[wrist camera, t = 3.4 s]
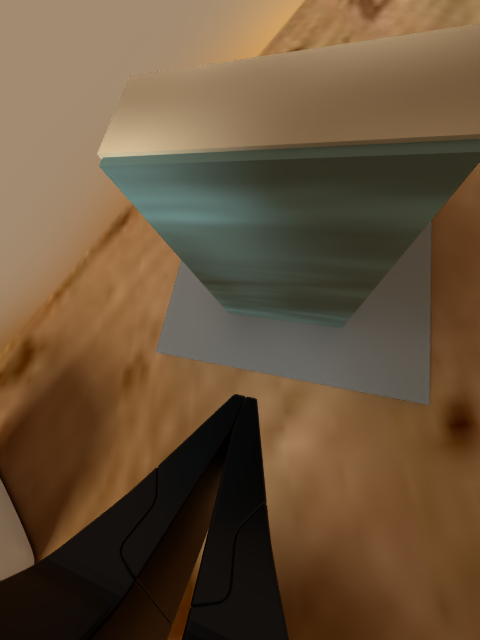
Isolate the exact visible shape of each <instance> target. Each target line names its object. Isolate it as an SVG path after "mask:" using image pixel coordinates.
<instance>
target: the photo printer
mask: <svg viewBox="0 0 480 640" xmlns="http://www.w3.org/2000/svg"><path fill="white" fill-rule="evenodd" d="M32 565H34V556H33V552H32V549H31V546H30V544H29V541H28V539H27V536H26V534H25V531H24V529H23V527H22V524H21V522H20V520H19V517H18V515H17V513H16V511H15V509H14V506H13V504H12V502H11V500H10V498H9V496H8V494H7V492H6V489H5V487H4V485H3V483H2V481H1V479H0V581H1V580H3V579H6V578H8V577H10V576H12V575H14V574H16V573H18V572H20V571H22V570H25V569H27V568H28V567H30V566H32Z"/></svg>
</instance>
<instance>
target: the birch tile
mask: <svg viewBox="0 0 480 640" xmlns="http://www.w3.org/2000/svg"><path fill="white" fill-rule="evenodd" d="M97 155H98V156H99V157H100V158H101V160H102V161H101V163H100V168H101V169H102V170H103V171H104V172H105V173H106V174H107V176H108V177H109V178H110V179H111V180H112V181H113V182H114V184H115V185H116V186H117V187H118V188H119V189H120V190H121V192H122V193H123V194H124V195H125V196H126V197H127V198H128V199H129V201H130V202H131V203H132V204H133V205H134V206H135V207H136V209H137V210H138V211H139V212H140V213H141V214H142V215H143V217H144V218H145V219H146V220H147V221H148V222H149V223H150V225H151V226H152V227H153V228H154V229H155V230H156V231H157V233H158V234H159V235H160V236H161V237H162V238H163V239H164V241H165V242H166V243H167V244H168V245H169V246H170V247H171V249H172V250H173V251H174V252H175V253H176V254H177V255H178V256H179V258H180V259H181V260H182V261H183V262H184V263H185V264H186V266H187V267H188V268H189V269H190V270H191V271H192V272H193V274H194V275H195V276H196V277H197V278H198V279H199V280H200V282H201V283H202V284H203V285H204V286H205V287H206V288H207V290H208V291H209V292H210V293H211V294H212V295H213V296H214V298H215V299H216V300H217V301H218V302H219V303H220V304H221V305H222V307H223V308H224V309H225V310H226V311H227V312H228V313H232V314H240V315H247V316H255V317H262V318H269V319H277V320H284V321H292V322H299V323H307V324H314V325H322V326H329V327H337V328H343V326H344V325H345V324H346V323H347V321H348V320H349V319H350V318H351V317H352V315H353V314H354V313H355V312H356V311H357V309H358V308H359V307H360V306H361V305H362V303H363V302H364V301H365V300H366V299H367V297H368V296H369V295H370V294H371V292H372V291H373V290H374V289H375V288H376V286H377V285H378V284H379V283H380V282H381V280H382V279H383V278H384V277H385V276H386V274H387V273H388V272H389V271H390V270H391V268H392V267H393V266H394V265H395V264H396V262H397V261H398V260H399V259H400V257H401V256H402V255H403V254H404V253H405V251H406V250H407V249H408V248H409V247H410V245H411V244H412V243H413V242H414V241H415V239H416V238H417V237H418V236H419V235H420V233H421V232H422V231H423V230H424V228H425V227H426V226H427V225H428V224H429V222H430V221H431V220H432V219H433V218H434V216H435V215H436V214H437V213H438V212H439V210H440V209H441V208H442V207H443V206H444V204H445V203H446V202H447V201H448V199H449V198H450V197H451V196H452V195H453V193H454V192H455V191H456V190H457V189H458V187H459V186H460V185H461V184H462V183H463V181H464V180H465V179H466V178H467V177H468V175H469V174H470V173H471V172H472V171H473V169H474V168H475V167H476V166H477V164H478V163H479V162H480V24H473V25H467V26H460V27H453V28H447V29H440V30H433V31H427V32H420V33H413V34H407V35H400V36H393V37H387V38H380V39H373V40H367V41H360V42H354V43H347V44H340V45H334V46H327V47H320V48H314V49H307V50H300V51H294V52H287V53H280V54H274V55H267V56H260V57H254V58H247V59H240V60H234V61H228V62H221V63H214V64H208V65H201V66H194V67H187V68H181V69H174V70H167V71H161V72H154V73H147V74H141V75H134V76H129V79H128V81H127V83H126V86H125V88H124V91H123V93H122V96H121V98H120V100H119V103H118V105H117V108H116V110H115V112H114V115H113V117H112V120H111V122H110V124H109V127H108V129H107V132H106V134H105V136H104V139H103V141H102V144H101V146H100V149H99V151H98V153H97Z"/></svg>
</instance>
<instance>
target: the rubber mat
mask: <svg viewBox="0 0 480 640" xmlns="http://www.w3.org/2000/svg"><path fill="white" fill-rule="evenodd" d="M431 236H432V220H431V221H430V222H429V224H428V225H427V226H426V227H425V228H424V230H423V231H422V232H421V233H420V235H419V236H418V237H417V238H416V239H415V241H414V242H413V243H412V244H411V245H410V247H409V248H408V249H407V250H406V251H405V253H404V254H403V255H402V256H401V257H400V259H399V260H398V261H397V262H396V264H395V265H394V266H393V267H392V268H391V270H390V271H389V272H388V273H387V274H386V276H385V277H384V278H383V279H382V280H381V282H380V283H379V284H378V285H377V286H376V288H375V289H374V290H373V291H372V292H371V294H370V295H369V296H368V297H367V299H366V300H365V301H364V302H363V303H362V305H361V306H360V307H359V308H358V309H357V311H356V312H355V313H354V314H353V315H352V317H351V318H350V319H349V320H348V321H347V323H346V324H345V325H344V326H343V328H337V327H329V326H322V325H314V324H307V323H299V322H292V321H284V320H277V319H269V318H262V317H255V316H247V315H240V314H232V313H228V312H227V311H226V310H225V309H224V308H223V307H222V305H221V304H220V303H219V302H218V301H217V300H216V299H215V298H214V296H213V295H212V294H211V293H210V292H209V291H208V290H207V288H206V287H205V286H204V285H203V284H202V283H201V282H200V280H199V279H198V278H197V277H196V276H195V275H194V274H193V272H192V271H191V270H190V269H189V268H188V267H187V266H186V264H185V263H184V262H183V261H182V260H181V263H180V267H179V271H178V274H177V278H176V281H175V285H174V289H173V292H172V296H171V299H170V303H169V306H168V310H167V314H166V317H165V321H164V324H163V328H162V332H161V335H160V339H159V342H158V346H157V350H156V352H158V353H162V354H167V355H173V356H178V357H183V358H188V359H193V360H198V361H204V362H209V363H214V364H219V365H224V366H229V367H235V368H240V369H245V370H250V371H255V372H260V373H266V374H271V375H276V376H281V377H286V378H291V379H297V380H302V381H307V382H312V383H317V384H322V385H327V386H333V387H338V388H343V389H348V390H353V391H358V392H364V393H369V394H374V395H379V396H384V397H389V398H395V399H400V400H405V401H410V402H415V403H420V404H427V405H430V326H431Z"/></svg>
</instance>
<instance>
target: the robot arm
mask: <svg viewBox="0 0 480 640" xmlns="http://www.w3.org/2000/svg"><path fill="white" fill-rule="evenodd" d="M266 502H267V501H266V491H265V480H264V469H263V458H262V448H261V437H260V426H259V416H258V405H257V399H255V398H251V397H246V398H245V396H242V395H238V394H235V395H233V396H232V397H231V398H230V399H229V400H228V401H227V402H225V403H224V404H223V405H222V406H221V407H220V408H219V409H218V410H217V411H216V412H215V413H214V414H213V415H212V416H211V417H210V418H208V419H207V420H206V421H205V422H204V423H203V424H202V425H201V426H200V427H199V428H198V429H197V430H196V431H195V432H194V433H193V434H191V435H190V436H189V437H188V438H187V439H186V440H185V441H184V442H183V443H182V444H181V445H180V446H179V447H178V448H177V449H175V450H174V451H173V452H172V453H171V454H170V455H169V456H168V457H167V458H166V459H165V460H164V461H163V462H162V463H161V464H160V465H159V466H158V468H155V469H154V470H153V471H152V472H151V473H150V474H149V475H148V476H147V477H146V478H144V479H143V480H142V481H141V482H140V483H139V484H138V485H137V486H136V487H134V488H133V489H132V490H131V491H130V492H129V493H128V494H126V495H125V496H124V497H123V498H121V499H120V500H119V501H118V502H117V503H115V504H114V505H113V506H112V507H110V508H109V509H108V510H107V511H105V512H104V513H103V514H102V515H100V516H99V517H98V518H96V519H95V520H94V521H93V522H91V523H90V524H89V525H88V526H86V527H85V528H84V529H83V530H81V531H80V532H79V533H77V534H76V535H75V536H74V537H72V538H71V539H70V540H69V541H67V542H66V543H65V544H63V545H62V546H61V547H60V548H58V549H57V550H56V551H54V552H53V553H51V554H50V555H48V556H47V557H45V558H44V559H42V560H41V561H39V562H37V563H36V564H34V565H32V566H30V567H28V568H27V569H25V570H22V571H20V572H18V573H16V574H14V575H12V576H10V577H8V578H6V579H3V580H1V581H0V640H167V639H168V636H169V633H170V631H171V628H172V624H173V622H174V620H175V617H176V614H177V612H178V609H179V606H180V604H181V601H182V598H183V596H184V593H185V590H186V588H187V585H188V582H189V580H190V577H191V574H192V572H193V569H194V566H195V564H196V561H197V558H198V556H199V553H200V550H201V548H202V545H203V542H204V539H205V537H206V534H207V531H208V534H207V538H206V543H205V547H204V551H203V555H202V560H201V564H200V568H199V572H198V576H197V581H196V585H195V589H194V593H193V597H192V602H191V608H190V610H189V614H188V618H187V622H186V626H185V630H184V634H183V637H182V640H289V636H288V631H287V626H286V621H285V615H284V610H283V605H282V600H281V595H280V590H279V585H278V580H277V575H276V569H275V563H274V558H273V552H272V546H271V538H270V530H269V521H268V510H267V505H266ZM208 529H209V530H208Z"/></svg>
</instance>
